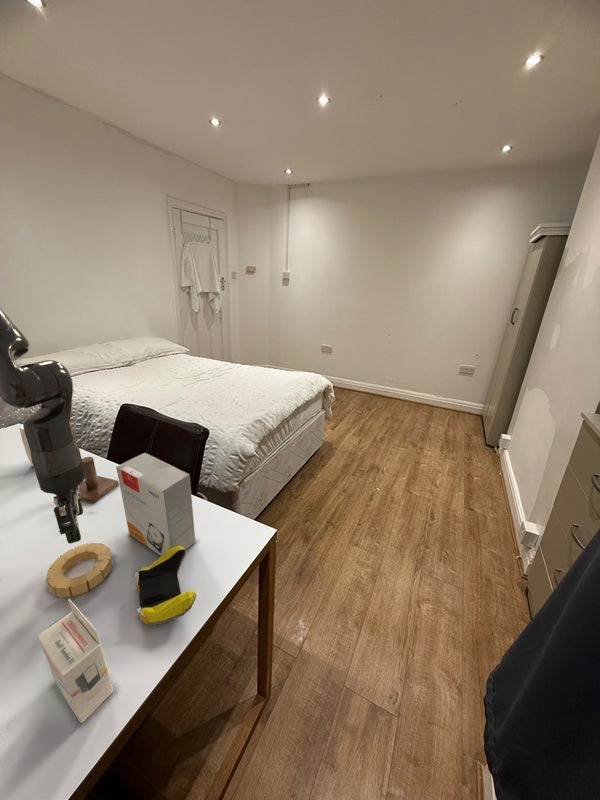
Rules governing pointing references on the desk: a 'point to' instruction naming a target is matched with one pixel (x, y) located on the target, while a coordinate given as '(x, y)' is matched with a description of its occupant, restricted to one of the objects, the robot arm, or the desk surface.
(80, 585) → the ring
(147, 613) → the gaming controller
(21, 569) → the desk surface
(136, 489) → the hard drive box
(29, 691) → the desk surface
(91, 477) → the stand
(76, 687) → the ink box
